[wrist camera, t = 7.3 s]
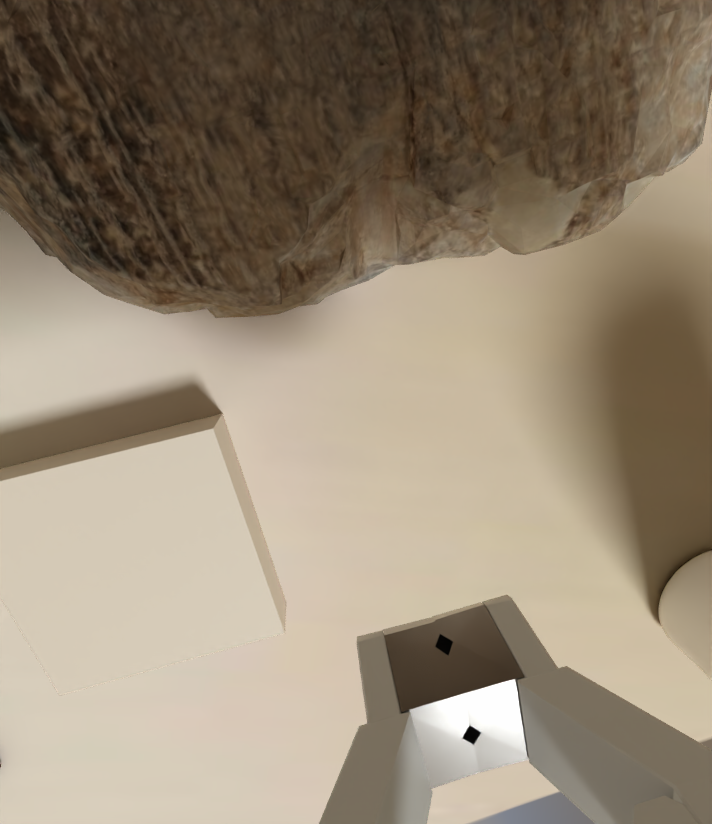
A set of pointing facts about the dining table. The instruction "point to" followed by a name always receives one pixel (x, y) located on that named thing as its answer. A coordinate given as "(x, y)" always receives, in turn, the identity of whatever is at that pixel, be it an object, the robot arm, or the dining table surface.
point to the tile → (135, 555)
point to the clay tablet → (332, 135)
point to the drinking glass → (690, 611)
